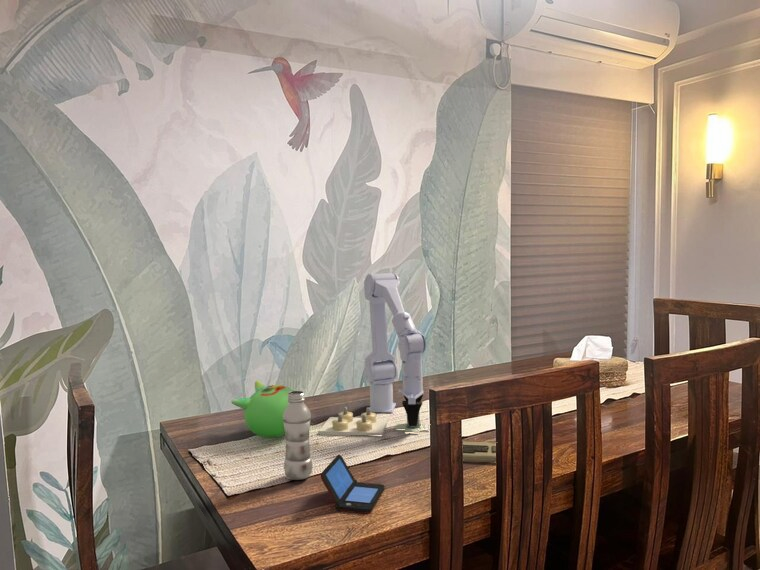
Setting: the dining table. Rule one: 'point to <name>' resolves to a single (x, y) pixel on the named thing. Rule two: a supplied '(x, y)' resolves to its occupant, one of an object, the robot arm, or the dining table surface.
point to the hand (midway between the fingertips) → (413, 422)
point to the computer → (479, 452)
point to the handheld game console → (349, 488)
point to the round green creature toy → (265, 409)
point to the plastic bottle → (297, 437)
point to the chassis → (354, 424)
